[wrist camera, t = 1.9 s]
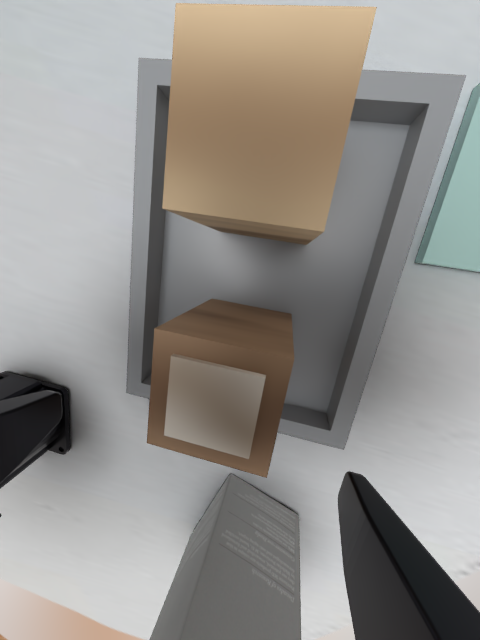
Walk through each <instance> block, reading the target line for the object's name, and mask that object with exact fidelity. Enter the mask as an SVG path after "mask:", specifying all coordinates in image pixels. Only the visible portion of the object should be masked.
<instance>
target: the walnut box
mask: <svg viewBox="0 0 480 640" xmlns="http://www.w3.org/2000/svg"><path fill="white" fill-rule="evenodd" d="M293 363H294V345H293V329H292V314H290V313H285V312H279V311H274V310H269V309H264V308H259V307H253V306H248V305H243V304H238V303H233V302H228V301H222V300H217V299H210V300H208V301H206V302H204V303H202V304H200V305H198V306H196V307H195V308H193V309H191V310H189V311H187V312H185V313H183V314H181V315H179V316H177V317H175V318H173V319H172V320H170V321H168V322H166V323H164V324H162V325H160V326H158V327H156V328H154V342H153V357H152V372H151V387H150V402H149V418H148V433H147V443H148V444H152V445H155V446H159V447H162V448H166V449H169V450H173V451H176V452H179V453H183V454H186V455H190V456H193V457H197V458H200V459H204V460H207V461H211V462H214V463H217V464H221V465H224V466H228V467H231V468H235V469H238V470H242V471H245V472H249V473H252V474H256V475H259V476H262V477H266V478H267V474H268V470H269V466H270V461H271V457H272V453H273V448H274V444H275V440H276V436H277V431H278V427H279V423H280V419H281V414H282V410H283V406H284V401H285V397H286V393H287V389H288V384H289V380H290V376H291V371H292V367H293Z"/></svg>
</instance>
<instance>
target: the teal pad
mask: <svg viewBox="0 0 480 640" xmlns="http://www.w3.org/2000/svg"><path fill="white" fill-rule="evenodd" d="M415 262H416V263H422V264H429V265H435V266H442V267H448V268H455V269H461V270H468V271H474V272H480V83H479V84H478V85H477V86H476V87H475V88H474V89H473V91H472V94H471V97H470V100H469V103H468V106H467V109H466V112H465V115H464V118H463V121H462V124H461V127H460V130H459V133H458V136H457V139H456V142H455V145H454V148H453V151H452V153H451V156H450V159H449V162H448V165H447V168H446V171H445V174H444V177H443V180H442V183H441V186H440V189H439V192H438V195H437V198H436V201H435V204H434V207H433V210H432V213H431V216H430V219H429V222H428V225H427V228H426V231H425V234H424V237H423V239H422V242H421V245H420V248H419V251H418V254H417V257H416V260H415Z"/></svg>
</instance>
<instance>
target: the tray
mask: <svg viewBox="0 0 480 640" xmlns="http://www.w3.org/2000/svg"><path fill="white" fill-rule="evenodd" d="M171 69H172V60H168V59H149V58H139V65H138V92H137V119H136V146H135V173H134V200H133V227H132V254H131V282H130V309H129V336H128V363H127V390H126V393H129V394H133V395H136V396H140V397H144V398H148V399H150V387H151V372H152V357H153V342H154V328H156V327H158V326H160V325H162V324H164V323H166V322H168V321H170V320H172V319H173V318H175V317H177V316H179V315H181V314H183V313H185V312H187V311H189V310H191V309H193V308H195V307H196V306H198V305H200V304H202V303H204V302H206V301H208V300H210V299H217V300H222V301H228V302H233V303H238V304H243V305H248V306H253V307H259V308H264V309H269V310H274V311H279V312H285V313H290V314H292V329H293V345H294V363H293V367H292V371H291V376H290V380H289V384H288V389H287V393H286V397H285V401H284V406H283V410H282V414H281V419H280V423H279V427H278V431H277V432H278V433H282V434H285V435H289V436H293V437H297V438H301V439H304V440H308V441H312V442H316V443H320V444H324V445H327V446H331V447H335V448H339V449H343V450H344V448H345V445H346V442H347V439H348V436H349V433H350V429H351V426H352V423H353V420H354V417H355V414H356V411H357V408H358V405H359V402H360V399H361V396H362V393H363V390H364V387H365V384H366V381H367V377H368V374H369V371H370V368H371V365H372V362H373V359H374V356H375V353H376V350H377V347H378V344H379V341H380V338H381V335H382V332H383V329H384V326H385V322H386V319H387V316H388V313H389V310H390V307H391V304H392V301H393V298H394V295H395V292H396V289H397V286H398V283H399V280H400V277H401V274H402V270H403V267H404V264H405V261H406V258H407V255H408V252H409V249H410V246H411V243H412V240H413V237H414V234H415V231H416V228H417V225H418V222H419V218H420V215H421V212H422V209H423V206H424V203H425V200H426V197H427V194H428V191H429V188H430V185H431V182H432V179H433V176H434V173H435V170H436V166H437V163H438V160H439V157H440V154H441V151H442V148H443V145H444V142H445V139H446V136H447V133H448V130H449V127H450V124H451V121H452V118H453V114H454V111H455V108H456V105H457V102H458V99H459V96H460V93H461V90H462V87H463V84H464V81H465V78H466V75H453V74H434V73H415V72H396V71H377V70H362V72H361V76H360V80H359V85H358V89H357V93H356V97H355V102H354V106H353V110H352V115H351V119H350V123H349V127H348V132H347V136H346V140H345V145H344V149H343V153H342V157H341V162H340V166H339V170H338V175H337V179H336V183H335V187H334V192H333V196H332V200H331V204H330V209H329V213H328V217H327V222H326V226H325V230H324V232H323V233H322V234H321V235H319V236H318V237H317V238H315V239H314V240H312V241H311V242H310V243H308V244H307V245H304V244H297V243H291V242H284V241H277V240H271V239H264V238H258V237H251V236H245V235H238V234H232V233H225V232H220V231H217V230H215V229H212V228H210V227H207V226H205V225H202V224H200V223H197V222H195V221H192V220H190V219H187V218H185V217H182V216H180V215H177V214H175V213H172V212H170V211H167V210H165V209H162V206H163V190H164V175H165V160H166V145H167V130H168V115H169V100H170V84H171Z"/></svg>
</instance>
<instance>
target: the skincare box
mask: <svg viewBox="0 0 480 640" xmlns="http://www.w3.org/2000/svg"><path fill="white" fill-rule="evenodd" d="M150 640H301V601H300V549H299V517H298V515H297V514H296V513H295V512H293V511H291V510H290V509H288V508H286V507H285V506H283V505H281V504H280V503H278V502H277V501H275V500H273V499H272V498H270V497H268V496H267V495H265V494H264V493H262V492H261V491H259V490H258V489H256V488H254V487H253V486H251V485H250V484H248V483H246V482H245V481H243V480H241V479H240V478H238V477H236V476H235V475H233V474H230V475H229V476H228V478H227V479H226V481H225V482H224V484H223V486H222V487H221V489H220V490H219V492H218V493H217V495H216V496H215V498H214V500H213V501H212V503H211V504H210V506H209V507H208V509H207V510H206V512H205V514H204V515H203V517H202V518H201V520H200V521H199V523H198V525H197V526H196V528H195V529H194V531H193V533H192V534H191V536H190V539H189V542H188V544H187V547H186V549H185V552H184V554H183V557H182V559H181V562H180V564H179V567H178V569H177V572H176V575H175V577H174V580H173V582H172V585H171V587H170V590H169V592H168V595H167V597H166V600H165V602H164V605H163V607H162V610H161V612H160V615H159V617H158V620H157V622H156V625H155V627H154V630H153V632H152V635H151V637H150Z"/></svg>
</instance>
